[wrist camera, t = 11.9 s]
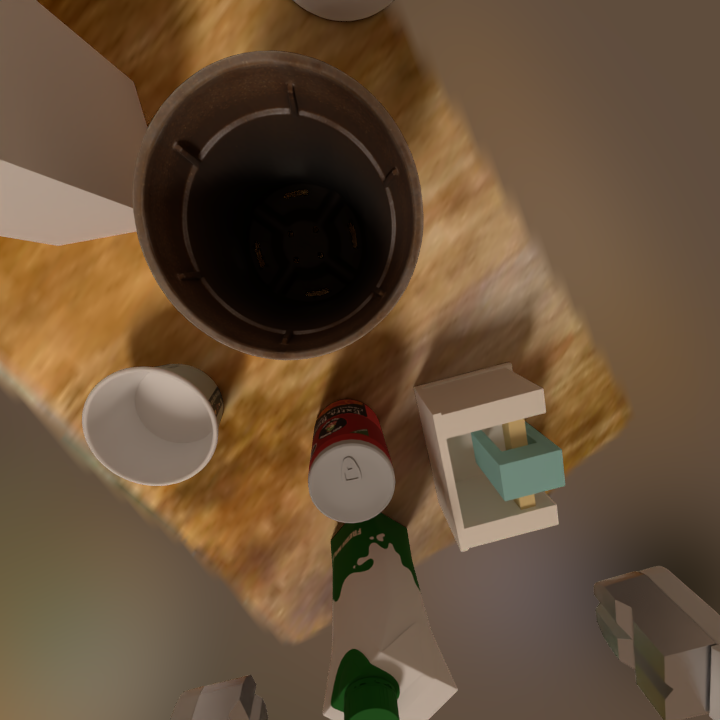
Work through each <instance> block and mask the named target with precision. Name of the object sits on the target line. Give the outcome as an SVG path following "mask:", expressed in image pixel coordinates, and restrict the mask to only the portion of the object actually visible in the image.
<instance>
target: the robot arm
mask: <svg viewBox="0 0 720 720" xmlns="http://www.w3.org/2000/svg"><path fill="white" fill-rule="evenodd" d="M293 1H294V2H295V3H297V4H298V5H300V6H301V7H302V8H304V9H305V10H307V11H309V12H311V13H313V14H315V15H317V16H320V17H323V18H326V19H330V20H336V21H353V20H359V19H363V18H366V17H369V16H372V15H374V14H376V13H378V12H379V11H381V10H383V9H384V8H386V7H387V6H388V5H389V4H391V3H392V2H393V1H394V0H293ZM594 595H595V597H596V598H597V599H598V600H599V602H600V603H599V605H598V606H597V608H596V617H597V622H598V625H599V627H600V630H601V632H602V634H603V636H604V638H605V640H606V641H607V643H608V645H609V647H610V648H611V649H612V651H613V652H614V654H615V655H616V656H617V658H618V659H619V660H620V661H622V662H623V663H625V664H626V665H628V666H630V667H631V668H633V669H634V670H635V675H636V683H637V685H638V686H639V688H640V689H641V690H642V692H643V693H644V694H645V696H646V697H647V699H648V700H649V701H650V703H651V704H652V705H653V707H654V708H655V709H656V711H657V712H658V713H659V715H660V716H661V717H662V719H663V720H682V719H686V718H690V717H695V716H699V715H704V714H708V713H710V715H709V716H710V717H711V718H712V719H714V720H720V615H719V614H718V613H717V612H715V611H714V610H713V609H712V608H711V607H710V606H709V605H708V604H706V603H705V602H704V601H703V600H702V599H701V598H700V597H698V596H697V595H696V594H695V593H694V592H693V591H692V590H690V589H689V588H688V587H687V586H686V585H685V584H684V583H683V582H681V581H680V580H679V579H678V578H677V577H676V576H674V575H673V574H672V573H671V572H670V571H669V570H668V569H666V568H664V567H662V566H655V567H651V568H648V569H645V570H641V571H638V572H636V571H634V572H631V573H627V574H624V575H620V576H617V577H613V578H610V579H606V580H603V581H600V582H596V583H595V585H594ZM255 689H256V683H255V681H254V679H253V677H252V676H251V675H248V676H244V677H240V678H236V679H232V680H228V681H224V682H220V683H215V684H211V685H206V686H202V687H199V688H195V689H191V690H187V691H184V692H183V693H182V695H181V696H180V698H179V699H178V701H177V702H176V705H175V708H174V710H173V713H172V716H171V718H170V720H268V715H267V710H266V705H265V703H264V701H263V699H262V698H261V697H259V696H257V695H256V694H255Z"/></svg>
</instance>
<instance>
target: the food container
mask: <svg viewBox="0 0 720 720" xmlns="http://www.w3.org/2000/svg"><path fill="white" fill-rule="evenodd" d="M222 414H223V399H222V395H221V392H220V390H219V388H218V386H217V385H216V384H215V382H214V381H213V380H212V379H211V378H210V377H209V376H208V375H207V374H205V373H204V372H203V371H201V370H199V369H197V368H195V367H192V366H189V365H184V364H168V365H162V366H157V367H131V368H126V369H123V370H119V371H117V372H115V373H112V374H111V375H109V376H107V377H106V378H104V379H103V380H101V381H100V382H99V383H98V384H97V385H96V386H95V387H94V388H93V390H92V391H91V392H90V394H89V396H88V398H87V400H86V402H85V405H84V409H83V414H82V426H83V432H84V436H85V439H86V441H87V444H88V446H89V447H90V449H91V451H92V452H93V454H94V455H95V457H96V458H97V459H98V460H99V461H100V462H101V463H102V464H103V465H104V466H105V467H106V468H107V469H109V470H110V471H112V472H113V473H115V474H116V475H118V476H120V477H122V478H124V479H126V480H129V481H131V482H135V483H138V484H143V485H151V486H163V485H171V484H175V483H179V482H182V481H184V480H187V479H189V478H190V477H192V476H194V475H195V474H197V473H198V472H199V471H201V470H202V469H203V468H204V467H205V466H206V464H207V463H208V462H209V460H210V459H211V457H212V455H213V453H214V451H215V448H216V445H217V441H218V427H219V424H220V421H221V417H222Z"/></svg>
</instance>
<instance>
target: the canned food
mask: <svg viewBox="0 0 720 720" xmlns="http://www.w3.org/2000/svg"><path fill="white" fill-rule="evenodd" d="M308 487H309V493H310V496H311V499H312V501H313V503H314V504H315V506H316V507H317V508H318V509H319V510H320V511H321V512H322V513H323V514H324V515H326V516H327V517H329V518H331V519H333V520H335V521H339V522H343V523H358V522H363V521H366V520H369V519H371V518H373V517H375V516H376V515H378V514H379V513H380V512H382V511H383V510H384V508H385V507H386V506H387V505H388V504H389V502H390V500H391V498H392V496H393V493H394V489H395V475H394V469H393V465H392V462H391V459H390V455H389V452H388V449H387V446H386V443H385V439H384V436H383V433H382V430H381V427H380V423H379V420H378V418H377V416H376V414H375V413H374V412H373V411H372V410H371V409H370V408H369V407H368V406H367V405H365V404H363V403H361V402H359V401H356V400H350V399H345V400H339V401H336V402H334V403H332V404H330V405H329V406H327V407H326V408H325V409H324V410H323V411H322V412H321V414H320V415H319V417H318V419H317V420H316V424H315V428H314V436H313V443H312V450H311V458H310V465H309V476H308Z"/></svg>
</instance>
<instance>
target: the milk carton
mask: <svg viewBox="0 0 720 720" xmlns="http://www.w3.org/2000/svg"><path fill="white" fill-rule="evenodd" d="M331 553H332V566H333V635H332V638H333V639H332V654H331V660H330V667H329V673H328V680H327V687H326V695H325V700H324V707H323V715H324V716H326V717H327V718H330V719H332V720H428V719H429V718H430V717H431V716H432V715H433V714H434V713H435V712H436V711H437V710H438V709H439V708H440V707H441V706H442V705H443V704H444V703H445V702H446V701H447V700H448V699H449V698H450V697H451V696H452V695H453V694H454V693H455V692H456V691H457V690H458V689H457V687H456V684H455V682H454V680H453V678H452V676H451V673H450V671H449V669H448V667H447V665H446V662H445V660H444V658H443V656H442V654H441V651H440V649H439V647H438V645H437V643H436V640H435V638H434V636H433V634H432V631H431V628H430V625H429V622H428V618H427V614H426V610H425V607H424V603H423V599H422V596H421V592H420V588H419V584H418V581H417V577H416V573H415V570H414V566H413V562H412V557H411V551H410V545H409V539H408V533H407V528H406V527H404V526H402V525H401V524H399V523H397V522H396V521H394V520H392V519H391V518H389V517H387V516H386V515H384V514H382V513H381V512H380V513H379V514H378V515H376V516H375V517H373V518H371V519H369V520H366V521H363V522H358V523H345V524H344V525H343V527H342V528H341V529H340V530H339V532H338V533H337V534H336V535H335V536H334V538H333V539H332V540H331Z"/></svg>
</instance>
